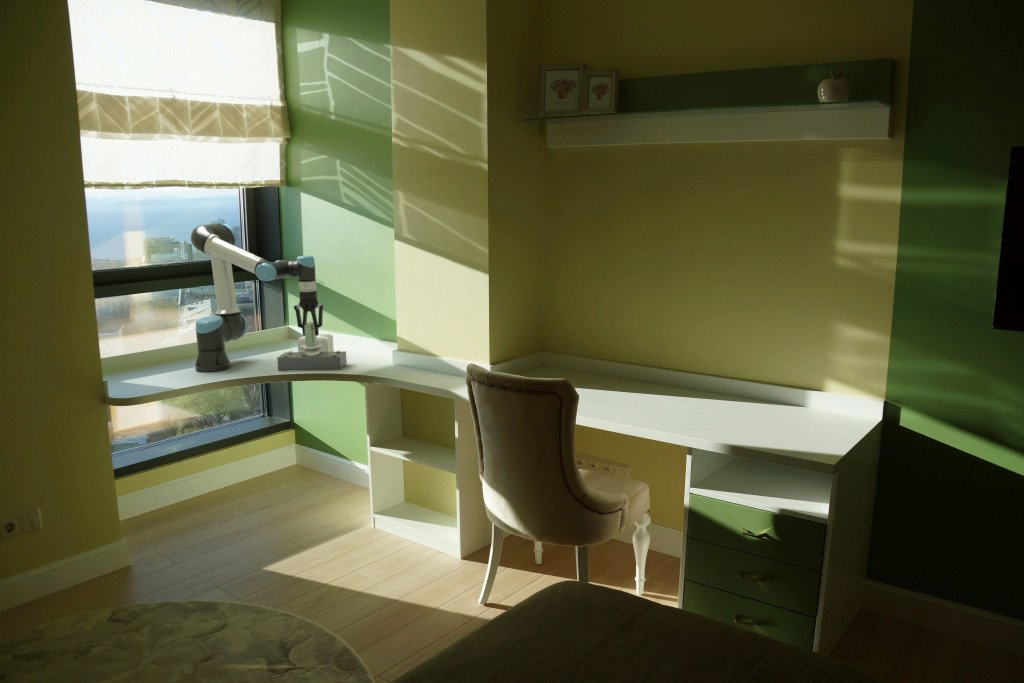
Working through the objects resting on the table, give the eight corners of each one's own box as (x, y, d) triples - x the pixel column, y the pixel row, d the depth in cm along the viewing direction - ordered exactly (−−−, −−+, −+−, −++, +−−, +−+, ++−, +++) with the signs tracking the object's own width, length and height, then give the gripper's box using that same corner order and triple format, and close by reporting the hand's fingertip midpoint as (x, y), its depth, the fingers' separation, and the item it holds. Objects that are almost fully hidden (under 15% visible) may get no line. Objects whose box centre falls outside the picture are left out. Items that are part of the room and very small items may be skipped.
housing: (278, 370, 370) (277, 355, 369) (286, 365, 382) (285, 350, 381) (340, 369, 369) (339, 354, 368) (346, 364, 381) (345, 349, 380)
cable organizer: (336, 357, 399) (334, 333, 397) (328, 361, 388) (327, 337, 386) (305, 357, 401) (304, 333, 398) (297, 361, 390) (296, 337, 388)
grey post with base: (298, 361, 370) (296, 325, 367) (304, 357, 380) (302, 321, 377) (320, 361, 370) (317, 324, 367) (325, 357, 380) (323, 321, 377)
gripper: (287, 292, 366) (291, 344, 370) (323, 291, 365) (327, 343, 370) (292, 290, 373) (295, 341, 378) (327, 289, 373) (331, 340, 377)
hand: (311, 342), depth 374 cm, fingers closed on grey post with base, 3 cm apart
